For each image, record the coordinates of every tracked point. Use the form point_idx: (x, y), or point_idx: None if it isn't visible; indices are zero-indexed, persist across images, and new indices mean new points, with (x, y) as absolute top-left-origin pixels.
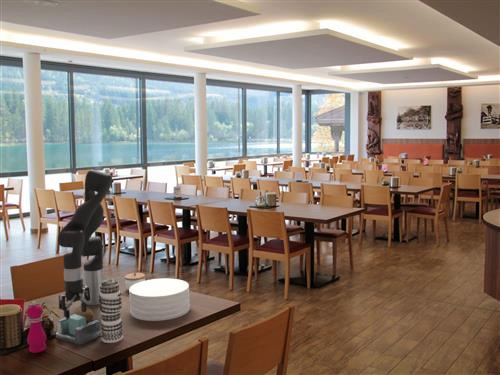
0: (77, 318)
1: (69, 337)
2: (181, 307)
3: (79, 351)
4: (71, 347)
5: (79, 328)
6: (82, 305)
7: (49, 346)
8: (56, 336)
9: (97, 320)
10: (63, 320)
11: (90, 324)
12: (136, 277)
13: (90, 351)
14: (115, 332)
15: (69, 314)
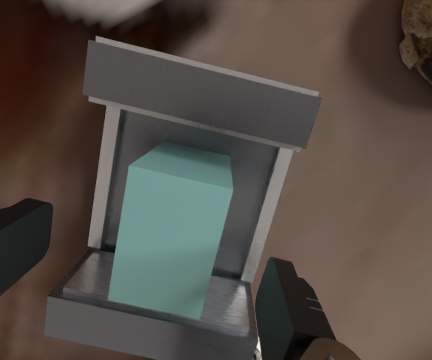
0: (143, 271)
1: (95, 198)
2: None
3: (35, 307)
4: (54, 243)
5: (65, 325)
6: (278, 329)
7: (6, 111)
8: None
9: (252, 356)
10: (125, 103)
11: (162, 353)
12: None
13: (58, 352)
14: None
15: (15, 280)
